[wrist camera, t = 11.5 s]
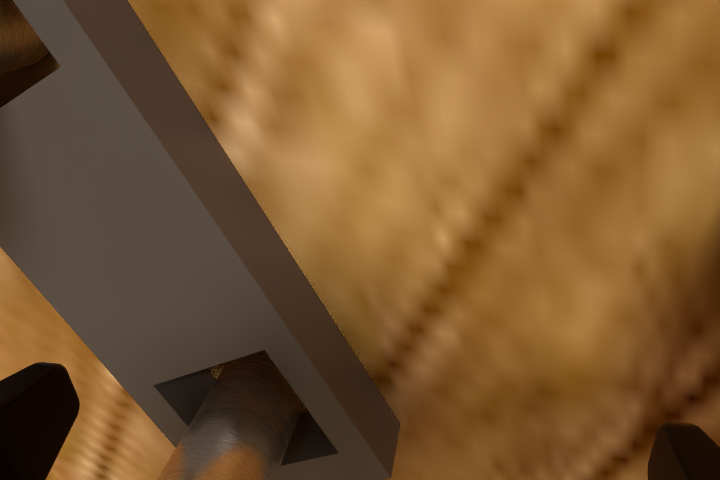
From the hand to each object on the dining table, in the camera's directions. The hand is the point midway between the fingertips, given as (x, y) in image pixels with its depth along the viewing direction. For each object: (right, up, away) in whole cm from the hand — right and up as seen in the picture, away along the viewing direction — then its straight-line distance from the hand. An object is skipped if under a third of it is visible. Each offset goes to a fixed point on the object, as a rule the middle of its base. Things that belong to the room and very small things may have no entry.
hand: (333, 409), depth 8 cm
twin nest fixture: (-8, +4, +15) cm, 17 cm away
